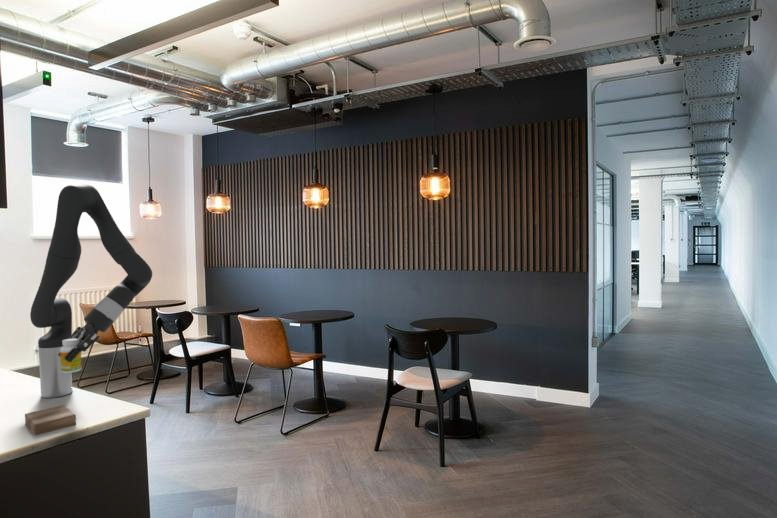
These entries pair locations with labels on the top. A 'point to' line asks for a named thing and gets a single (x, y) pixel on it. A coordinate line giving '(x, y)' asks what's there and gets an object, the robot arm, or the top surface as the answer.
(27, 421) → the walnut riser
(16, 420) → the top surface
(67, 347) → the supplement bottle
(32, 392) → the top surface
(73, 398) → the top surface
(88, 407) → the top surface
